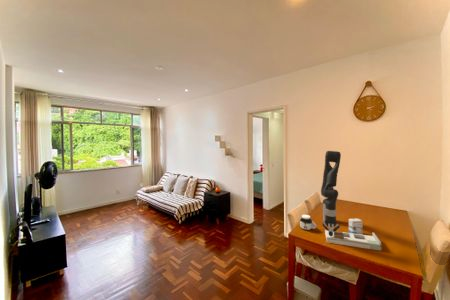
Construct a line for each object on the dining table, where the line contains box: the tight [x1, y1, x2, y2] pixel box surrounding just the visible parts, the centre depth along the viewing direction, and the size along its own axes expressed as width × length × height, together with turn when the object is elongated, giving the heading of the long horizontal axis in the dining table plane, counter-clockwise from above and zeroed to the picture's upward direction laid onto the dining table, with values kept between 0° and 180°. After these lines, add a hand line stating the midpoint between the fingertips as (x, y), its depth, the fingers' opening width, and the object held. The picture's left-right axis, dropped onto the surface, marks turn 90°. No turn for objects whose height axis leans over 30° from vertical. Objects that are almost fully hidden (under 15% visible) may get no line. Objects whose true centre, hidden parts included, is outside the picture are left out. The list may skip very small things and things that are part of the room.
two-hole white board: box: [324, 229, 382, 251], centre depth 150 cm, size 16×34×6 cm, turn 67°
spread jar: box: [299, 214, 317, 231], centre depth 173 cm, size 12×11×12 cm
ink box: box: [348, 217, 363, 235], centre depth 160 cm, size 9×5×12 cm, turn 92°
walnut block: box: [334, 230, 344, 239], centre depth 150 cm, size 6×6×4 cm
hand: (330, 235), depth 152 cm, fingers closed
